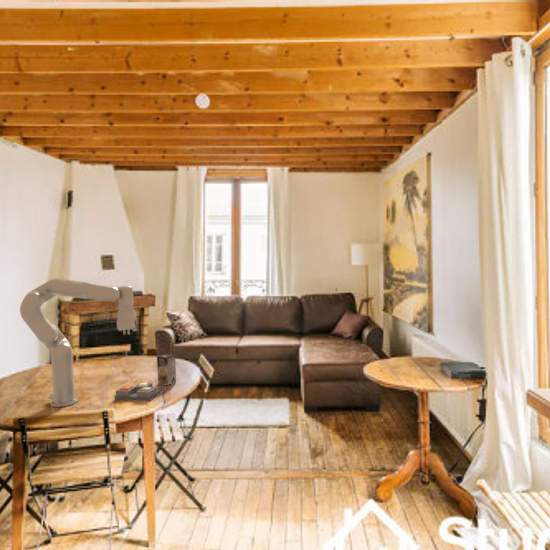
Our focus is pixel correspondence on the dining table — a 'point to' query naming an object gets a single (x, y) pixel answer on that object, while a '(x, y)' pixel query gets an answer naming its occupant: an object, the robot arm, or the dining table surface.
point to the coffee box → (166, 369)
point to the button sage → (146, 389)
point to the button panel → (138, 393)
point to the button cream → (143, 384)
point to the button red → (125, 388)
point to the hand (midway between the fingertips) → (128, 341)
